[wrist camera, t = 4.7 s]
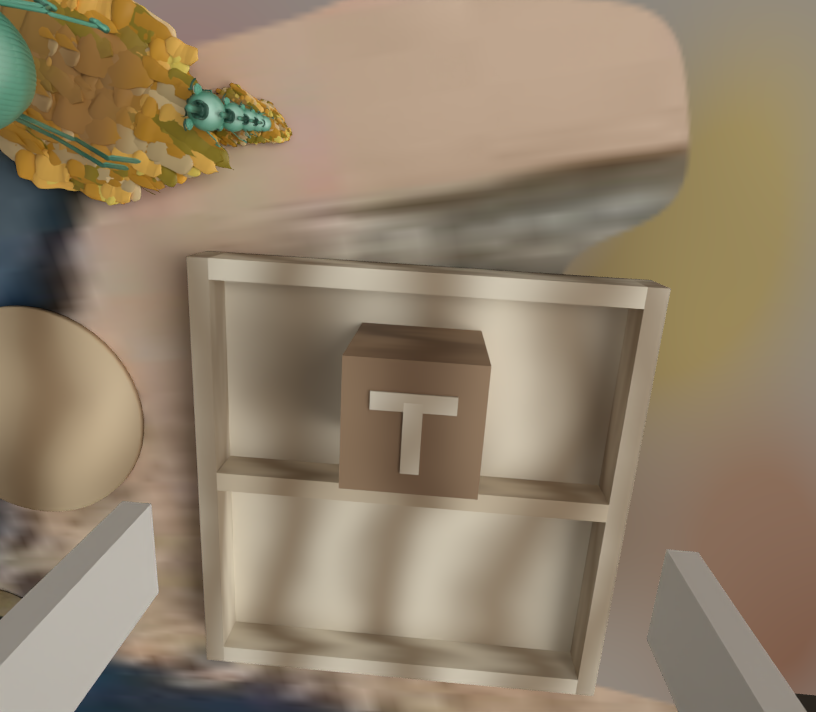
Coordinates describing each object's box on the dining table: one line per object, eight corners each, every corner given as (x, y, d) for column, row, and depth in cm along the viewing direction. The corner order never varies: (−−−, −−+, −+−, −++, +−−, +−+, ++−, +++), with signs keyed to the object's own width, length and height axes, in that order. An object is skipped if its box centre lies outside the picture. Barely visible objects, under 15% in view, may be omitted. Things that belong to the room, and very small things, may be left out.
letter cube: (358, 432, 30) (338, 489, 25) (362, 322, 29) (341, 356, 23) (470, 440, 30) (477, 500, 24) (481, 330, 28) (491, 367, 23)
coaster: (-48, 498, 34) (-55, 502, 33) (-86, 298, 30) (-94, 299, 30) (151, 515, 33) (146, 520, 33) (135, 313, 30) (130, 315, 29)
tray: (223, 627, 35) (207, 659, 33) (207, 251, 29) (186, 256, 26) (582, 660, 34) (593, 696, 32) (651, 280, 28) (670, 288, 25)
